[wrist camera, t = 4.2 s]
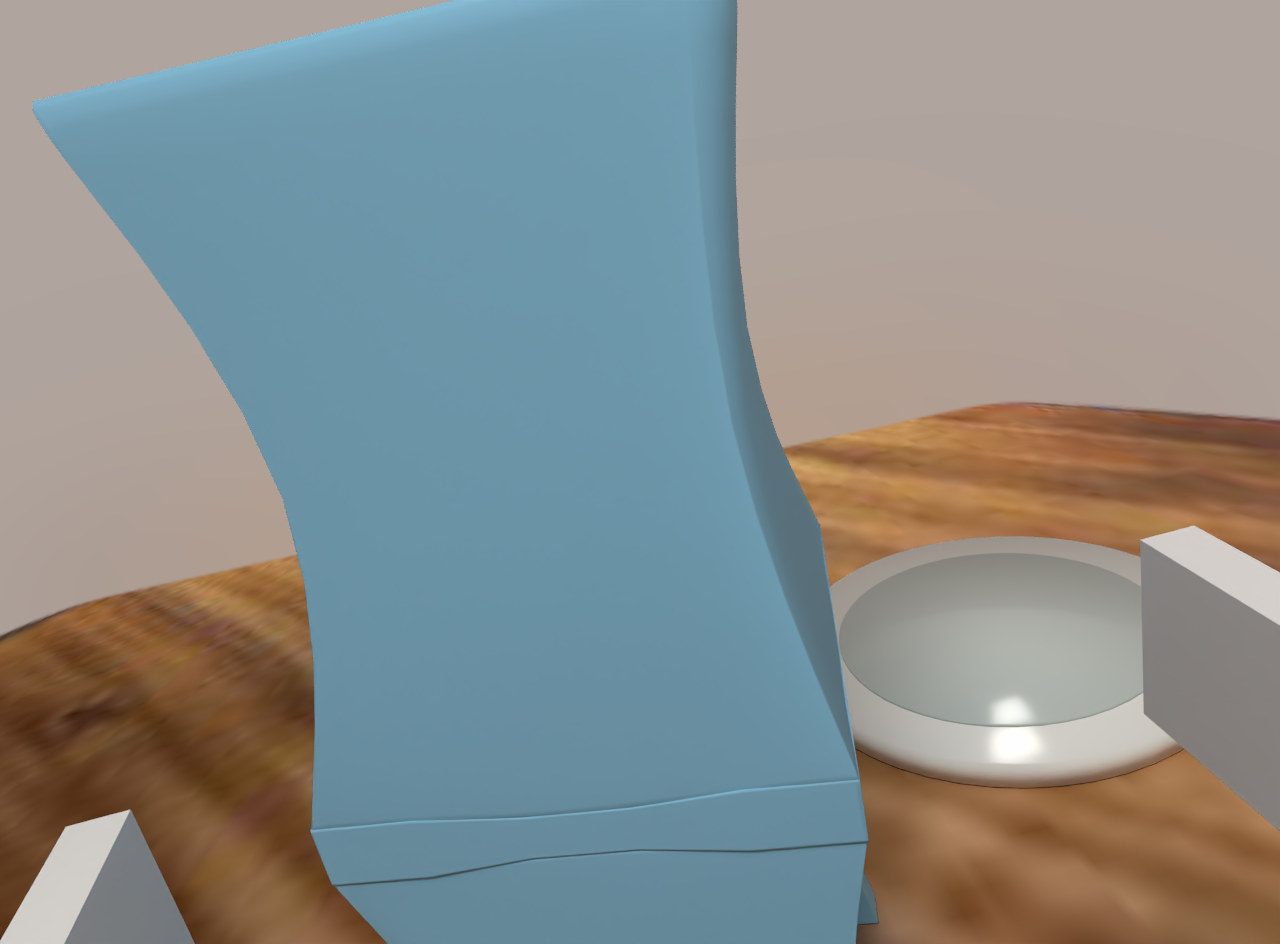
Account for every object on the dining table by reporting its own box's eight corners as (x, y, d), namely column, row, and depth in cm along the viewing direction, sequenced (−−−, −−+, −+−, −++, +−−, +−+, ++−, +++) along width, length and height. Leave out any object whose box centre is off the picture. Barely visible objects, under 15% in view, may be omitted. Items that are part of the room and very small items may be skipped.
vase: (560, 916, 25) (312, 89, 18) (874, 893, 24) (741, -10, 17) (483, 1262, 18) (16, 103, 11) (930, 1257, 16) (735, -69, 9)
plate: (717, 684, 33) (712, 661, 33) (943, 528, 40) (941, 508, 40) (1096, 862, 23) (1094, 832, 23) (1308, 614, 30) (1308, 588, 30)
